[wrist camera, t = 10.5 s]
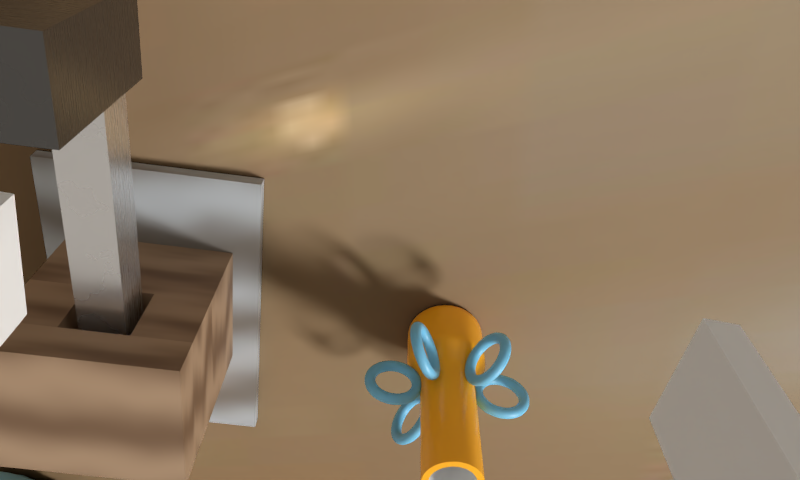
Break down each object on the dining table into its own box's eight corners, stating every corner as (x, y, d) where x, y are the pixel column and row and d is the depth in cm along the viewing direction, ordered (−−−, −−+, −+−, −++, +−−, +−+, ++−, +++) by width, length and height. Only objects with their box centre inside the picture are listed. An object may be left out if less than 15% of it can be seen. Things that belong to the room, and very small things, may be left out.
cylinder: (362, 371, 57) (346, 525, 44) (378, 270, 52) (365, 412, 39) (503, 389, 58) (527, 546, 45) (533, 291, 53) (570, 438, 40)
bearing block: (37, 150, 47) (-93, 255, 35) (264, 178, 48) (213, 291, 36) (76, 398, 60) (-10, 540, 48) (257, 418, 60) (217, 562, 48)
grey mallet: (36, -31, 34) (-91, 13, 26) (135, -17, 35) (42, 31, 26) (91, 358, 48) (19, 472, 39) (162, 366, 48) (106, 481, 39)
